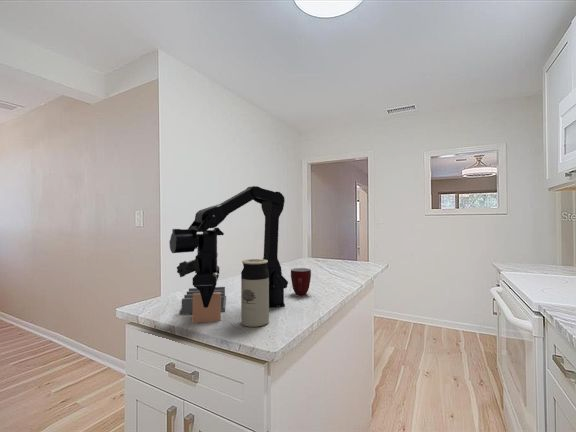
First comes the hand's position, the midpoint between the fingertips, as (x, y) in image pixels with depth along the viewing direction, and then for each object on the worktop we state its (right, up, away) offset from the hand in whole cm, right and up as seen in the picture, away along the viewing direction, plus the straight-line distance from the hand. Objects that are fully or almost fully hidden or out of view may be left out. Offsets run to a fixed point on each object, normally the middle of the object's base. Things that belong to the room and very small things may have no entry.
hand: (207, 302), depth 87 cm
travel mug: (+15, -5, -3) cm, 16 cm away
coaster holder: (-5, -5, +14) cm, 16 cm away
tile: (0, -5, 0) cm, 5 cm away
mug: (+29, -6, +28) cm, 41 cm away
